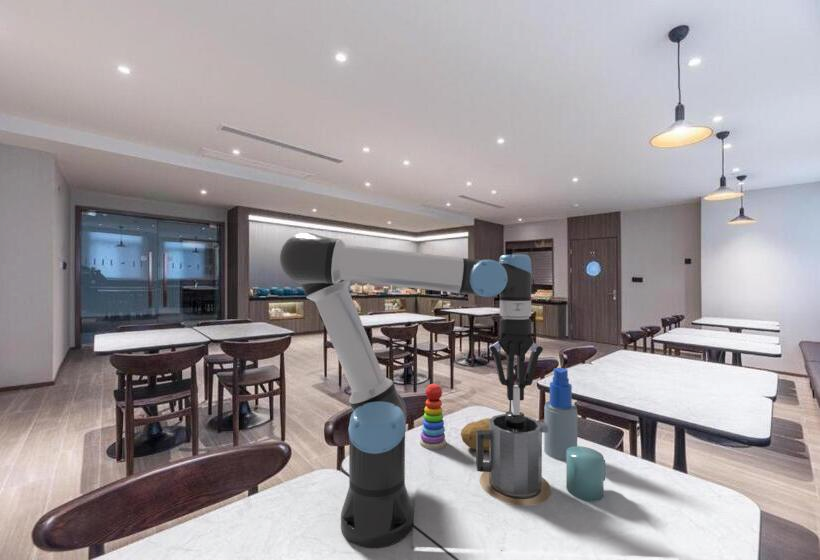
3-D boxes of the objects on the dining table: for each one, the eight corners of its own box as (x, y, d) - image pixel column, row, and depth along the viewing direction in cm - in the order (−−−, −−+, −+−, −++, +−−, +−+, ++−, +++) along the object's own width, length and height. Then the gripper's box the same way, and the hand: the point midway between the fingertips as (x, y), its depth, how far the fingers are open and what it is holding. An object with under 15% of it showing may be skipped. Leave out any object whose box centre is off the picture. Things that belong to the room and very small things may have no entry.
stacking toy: (447, 451, 108) (447, 388, 108) (420, 451, 108) (420, 388, 108) (444, 439, 116) (445, 380, 116) (419, 439, 116) (420, 380, 116)
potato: (459, 442, 114) (459, 413, 114) (509, 443, 113) (509, 413, 113) (462, 456, 105) (462, 424, 105) (516, 457, 105) (516, 424, 105)
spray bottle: (547, 445, 112) (548, 364, 112) (579, 452, 107) (579, 368, 107) (541, 457, 105) (541, 370, 105) (574, 465, 100) (575, 374, 100)
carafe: (480, 497, 84) (480, 433, 84) (473, 469, 97) (473, 413, 97) (554, 500, 83) (554, 434, 83) (538, 471, 96) (538, 414, 96)
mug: (583, 506, 82) (583, 464, 82) (559, 487, 90) (559, 448, 90) (617, 499, 85) (617, 458, 85) (590, 480, 93) (591, 443, 93)
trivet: (485, 506, 82) (485, 503, 82) (475, 467, 99) (475, 465, 99) (562, 509, 81) (562, 506, 81) (539, 469, 98) (539, 467, 98)
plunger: (499, 471, 86) (499, 420, 86) (492, 453, 95) (492, 407, 95) (539, 473, 85) (539, 421, 85) (528, 454, 94) (528, 407, 94)
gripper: (491, 319, 86) (491, 418, 87) (547, 319, 86) (547, 419, 86) (486, 315, 94) (486, 407, 94) (537, 316, 93) (537, 408, 93)
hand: (515, 412), depth 90 cm, fingers closed
